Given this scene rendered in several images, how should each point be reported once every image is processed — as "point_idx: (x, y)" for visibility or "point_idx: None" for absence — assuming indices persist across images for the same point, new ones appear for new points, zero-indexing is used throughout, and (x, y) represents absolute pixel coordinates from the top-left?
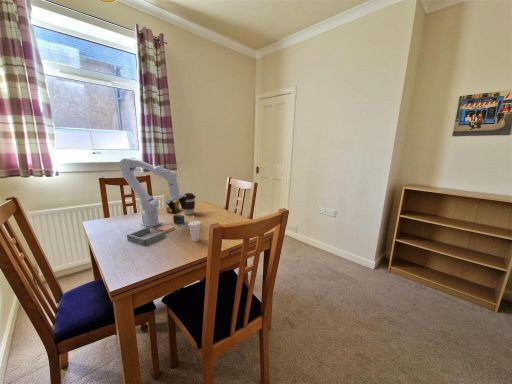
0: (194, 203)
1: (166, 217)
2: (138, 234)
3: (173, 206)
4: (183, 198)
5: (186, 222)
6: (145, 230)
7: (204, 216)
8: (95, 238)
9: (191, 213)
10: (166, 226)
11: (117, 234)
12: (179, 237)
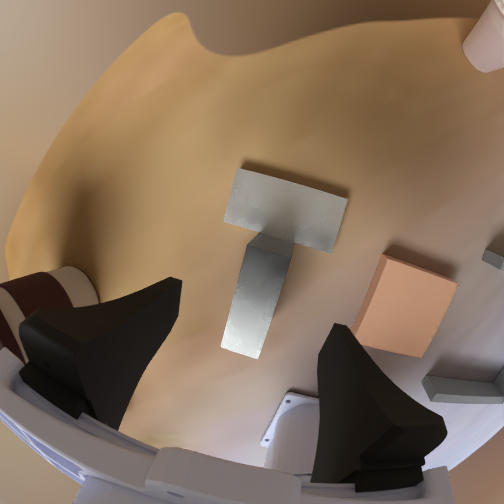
0: (14, 279)
1: (182, 400)
2: (474, 386)
3: (400, 391)
4: (78, 368)
5: (256, 214)
6: (450, 388)
7: (89, 164)
8: (447, 468)
9: (80, 275)
10: (387, 322)
11: (430, 452)
12: (487, 152)
